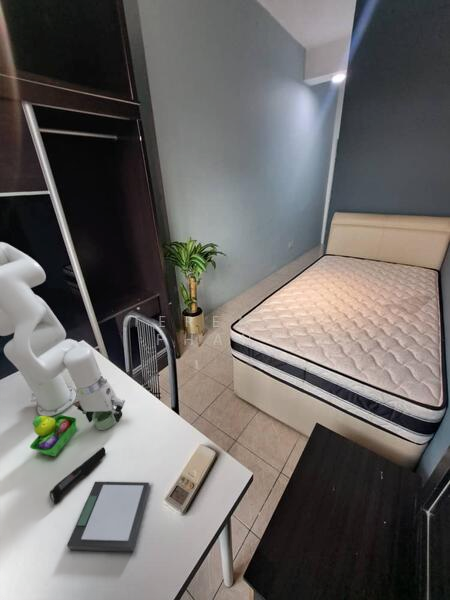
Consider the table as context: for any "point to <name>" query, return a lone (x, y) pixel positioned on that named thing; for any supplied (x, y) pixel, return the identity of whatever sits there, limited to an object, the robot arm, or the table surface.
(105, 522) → the scale
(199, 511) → the table surface
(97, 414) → the bowl
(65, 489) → the electric trimmer
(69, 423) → the fruit basket
